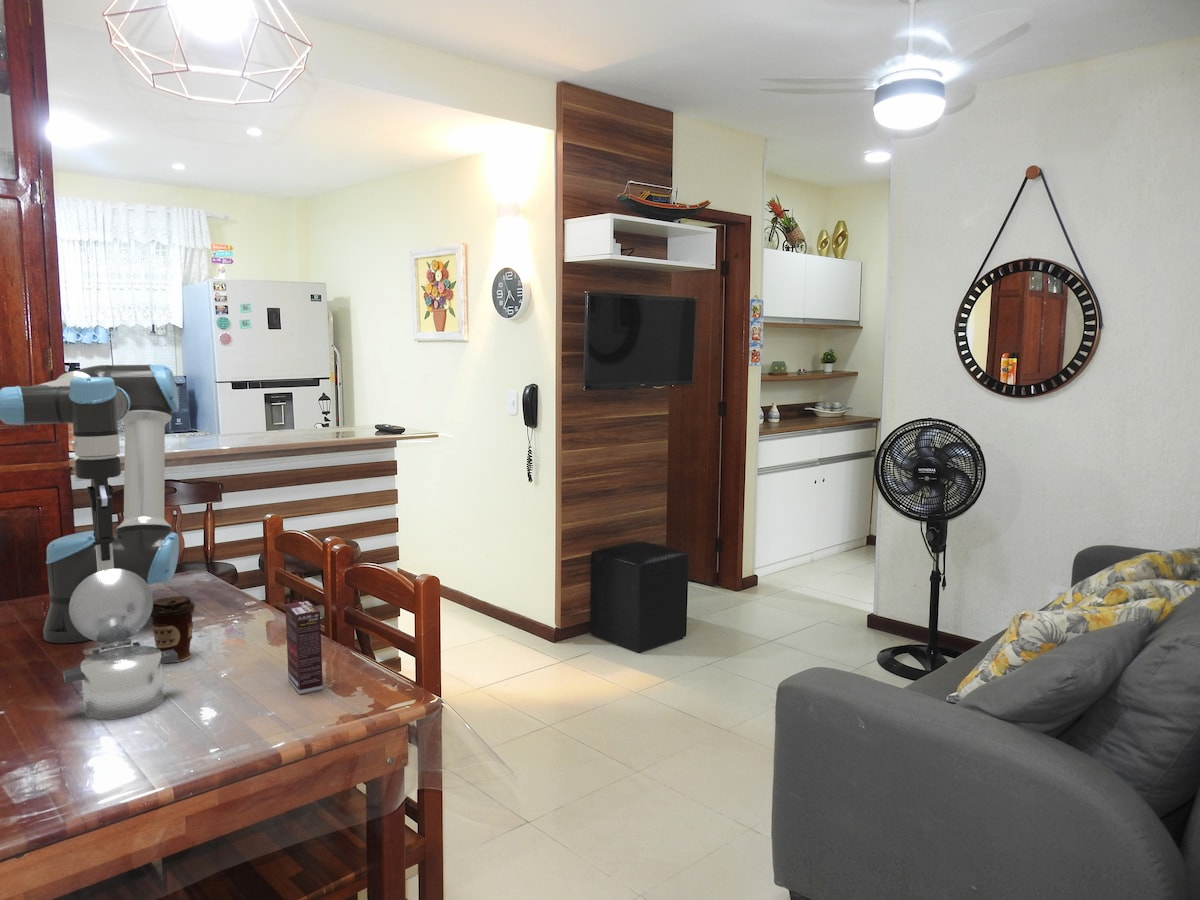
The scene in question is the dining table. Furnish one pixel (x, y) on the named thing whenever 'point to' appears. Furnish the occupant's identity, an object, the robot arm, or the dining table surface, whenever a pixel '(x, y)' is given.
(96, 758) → the dining table surface
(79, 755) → the dining table surface
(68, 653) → the dining table surface
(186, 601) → the coffee cup
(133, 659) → the pot
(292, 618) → the supplement box
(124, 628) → the lid
